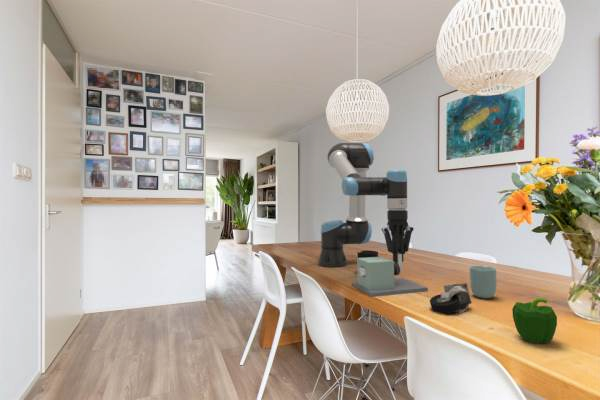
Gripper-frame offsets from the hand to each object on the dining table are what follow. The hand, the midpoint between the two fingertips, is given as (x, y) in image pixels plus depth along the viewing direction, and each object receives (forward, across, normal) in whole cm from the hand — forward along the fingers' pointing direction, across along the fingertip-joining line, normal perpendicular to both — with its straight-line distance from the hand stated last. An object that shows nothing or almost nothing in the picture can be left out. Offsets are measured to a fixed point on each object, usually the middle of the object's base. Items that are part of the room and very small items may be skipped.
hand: (398, 270), depth 120 cm
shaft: (+2, -8, 0) cm, 9 cm away
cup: (+7, +20, -20) cm, 29 cm away
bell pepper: (+7, +4, -50) cm, 51 cm away
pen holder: (+7, 0, +25) cm, 26 cm away
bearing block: (+6, -5, 0) cm, 8 cm away
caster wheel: (+7, 0, -28) cm, 28 cm away
